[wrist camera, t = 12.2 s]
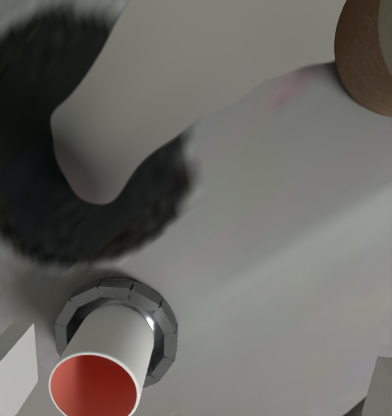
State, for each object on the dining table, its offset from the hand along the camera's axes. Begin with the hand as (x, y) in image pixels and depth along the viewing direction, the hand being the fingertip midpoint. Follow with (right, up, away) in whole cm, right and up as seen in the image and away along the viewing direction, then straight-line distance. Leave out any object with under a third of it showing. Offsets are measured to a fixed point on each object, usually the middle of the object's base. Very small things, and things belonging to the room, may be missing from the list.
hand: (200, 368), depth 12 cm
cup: (-11, -11, +32) cm, 35 cm away
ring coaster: (-11, -11, +32) cm, 36 cm away
